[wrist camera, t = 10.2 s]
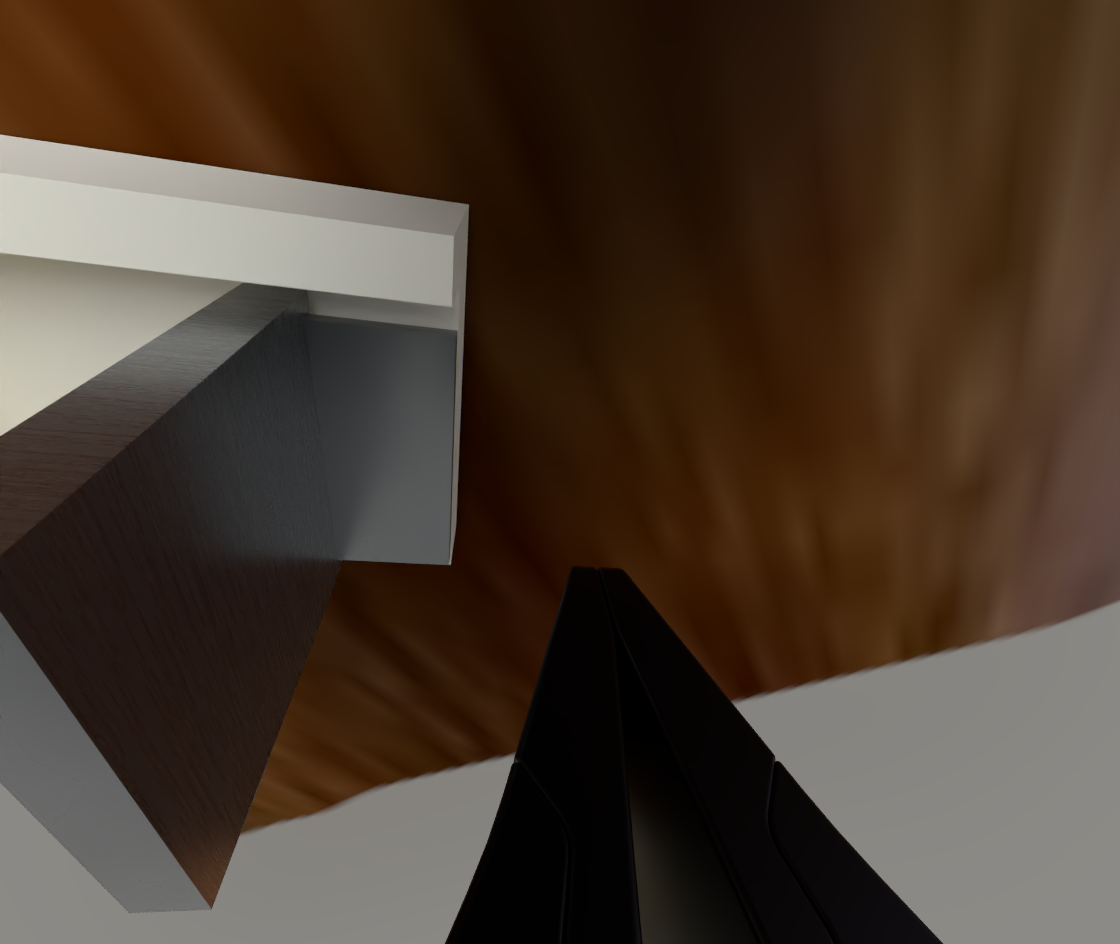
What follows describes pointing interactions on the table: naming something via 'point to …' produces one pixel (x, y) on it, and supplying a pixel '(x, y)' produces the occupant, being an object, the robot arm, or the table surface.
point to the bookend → (200, 567)
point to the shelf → (197, 259)
